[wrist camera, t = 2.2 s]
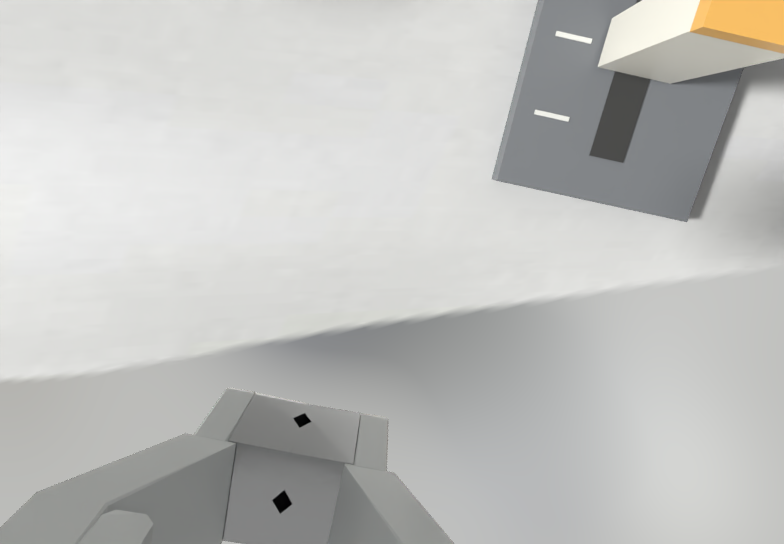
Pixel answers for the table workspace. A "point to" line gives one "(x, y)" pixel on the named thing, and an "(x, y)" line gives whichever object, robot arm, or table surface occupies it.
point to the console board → (607, 119)
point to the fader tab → (693, 37)
